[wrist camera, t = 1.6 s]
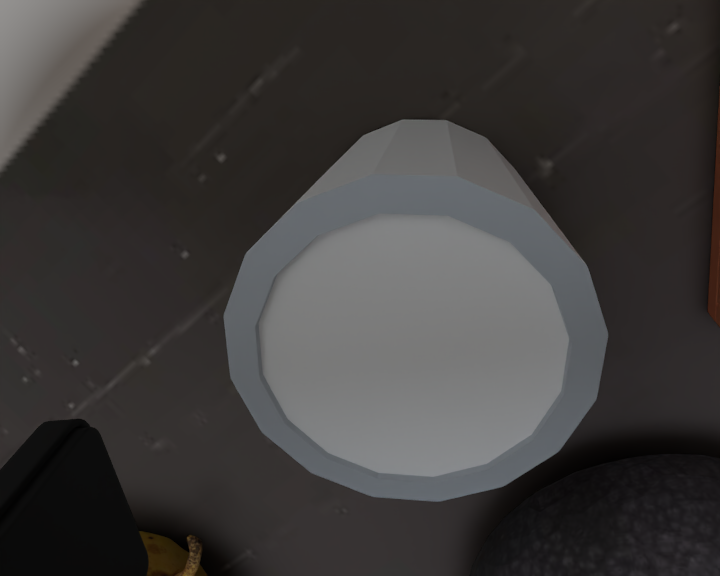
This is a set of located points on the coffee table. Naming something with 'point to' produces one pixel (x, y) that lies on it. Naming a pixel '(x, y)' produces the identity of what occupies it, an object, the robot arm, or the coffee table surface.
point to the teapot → (615, 522)
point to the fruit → (172, 556)
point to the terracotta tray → (715, 239)
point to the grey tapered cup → (416, 321)
